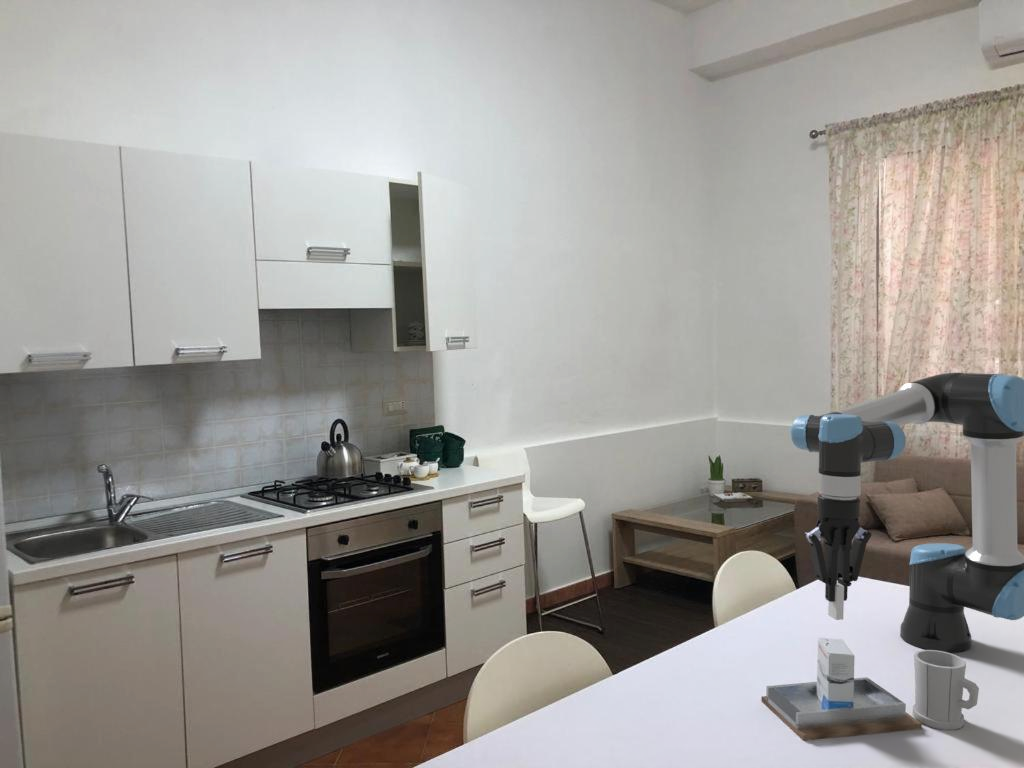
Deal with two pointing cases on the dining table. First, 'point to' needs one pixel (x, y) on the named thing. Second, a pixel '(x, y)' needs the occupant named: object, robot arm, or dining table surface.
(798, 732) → the panel
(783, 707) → the metal serving tray
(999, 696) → the dining table surface
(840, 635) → the dining table surface
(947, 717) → the cup
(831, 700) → the ink box
